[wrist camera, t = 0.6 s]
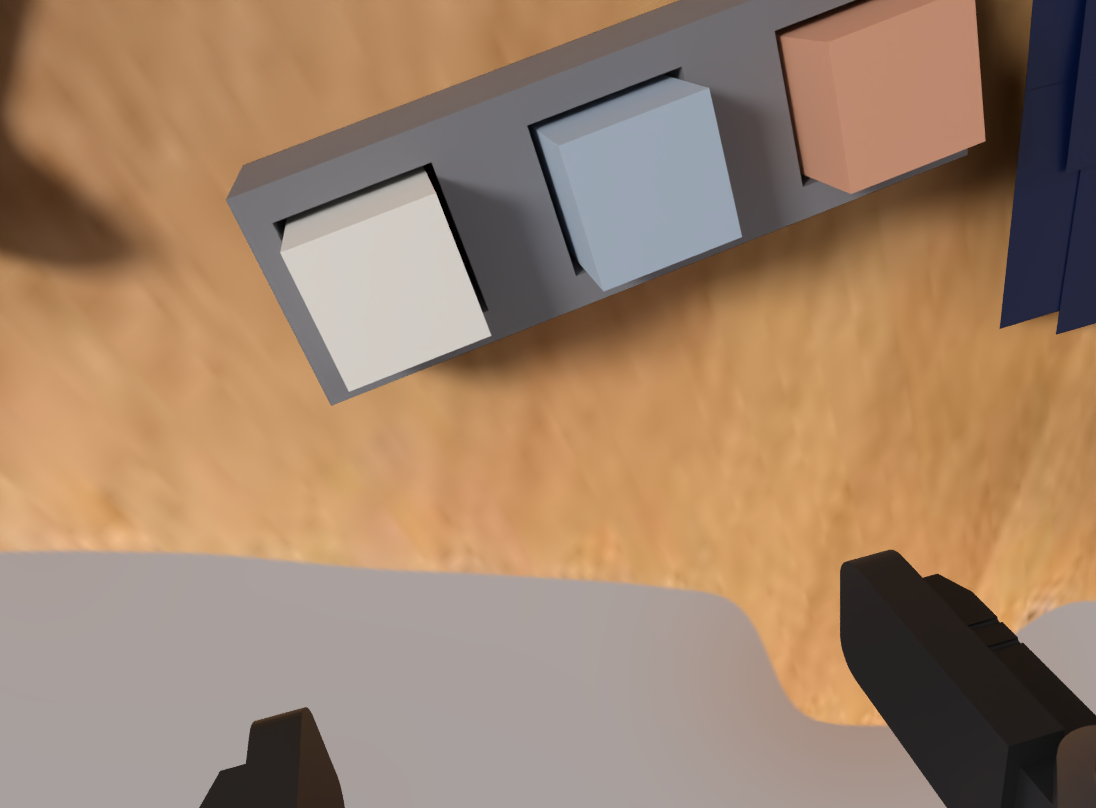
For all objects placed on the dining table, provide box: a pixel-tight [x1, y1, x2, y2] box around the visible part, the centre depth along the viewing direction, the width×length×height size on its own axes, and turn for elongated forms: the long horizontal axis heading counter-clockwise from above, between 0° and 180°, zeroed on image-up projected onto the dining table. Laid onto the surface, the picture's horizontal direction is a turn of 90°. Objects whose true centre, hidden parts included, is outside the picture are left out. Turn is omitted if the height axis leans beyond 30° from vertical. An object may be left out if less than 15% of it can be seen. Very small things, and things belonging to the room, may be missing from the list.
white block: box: [280, 166, 491, 392], centre depth 31 cm, size 5×5×6 cm
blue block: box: [527, 74, 742, 291], centre depth 31 cm, size 5×5×6 cm
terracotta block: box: [775, 0, 985, 194], centre depth 31 cm, size 5×5×6 cm
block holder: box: [226, 0, 968, 406], centre depth 33 cm, size 26×8×6 cm, turn 109°
